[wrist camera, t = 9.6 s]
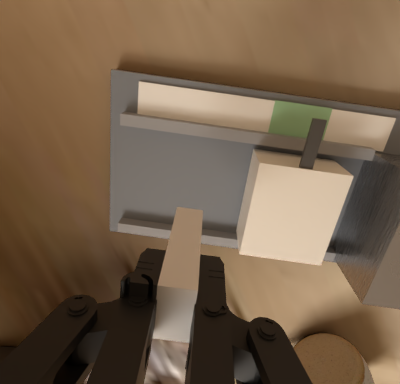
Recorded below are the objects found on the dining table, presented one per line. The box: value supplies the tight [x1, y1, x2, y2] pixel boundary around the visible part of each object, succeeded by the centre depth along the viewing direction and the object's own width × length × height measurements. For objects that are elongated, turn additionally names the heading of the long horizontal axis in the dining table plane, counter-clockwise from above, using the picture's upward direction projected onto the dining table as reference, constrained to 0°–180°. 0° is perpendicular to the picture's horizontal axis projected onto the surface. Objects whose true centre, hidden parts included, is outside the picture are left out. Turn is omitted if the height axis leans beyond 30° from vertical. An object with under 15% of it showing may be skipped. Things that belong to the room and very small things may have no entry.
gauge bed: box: [110, 69, 400, 262], centre depth 23 cm, size 22×13×2 cm, turn 82°
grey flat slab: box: [332, 152, 400, 309], centre depth 21 cm, size 3×9×7 cm, turn 172°
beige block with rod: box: [236, 118, 354, 266], centre depth 21 cm, size 6×10×3 cm, turn 172°
